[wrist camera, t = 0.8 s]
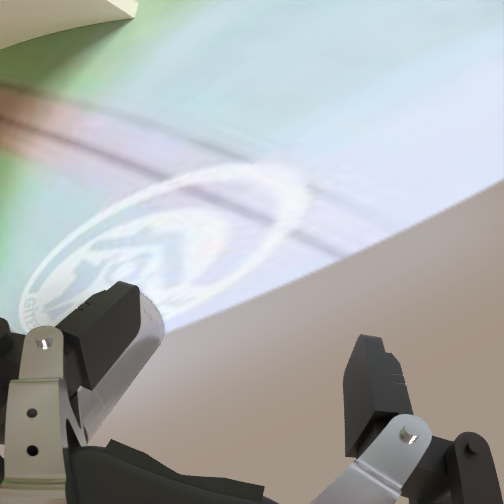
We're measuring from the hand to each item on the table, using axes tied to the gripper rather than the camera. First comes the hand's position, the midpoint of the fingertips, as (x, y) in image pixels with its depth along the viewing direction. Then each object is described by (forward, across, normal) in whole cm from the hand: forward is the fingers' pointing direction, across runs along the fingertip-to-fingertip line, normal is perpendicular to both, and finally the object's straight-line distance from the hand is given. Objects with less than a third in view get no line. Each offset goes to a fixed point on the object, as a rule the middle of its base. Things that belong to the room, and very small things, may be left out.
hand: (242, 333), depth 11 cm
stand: (+21, -32, +26) cm, 47 cm away
